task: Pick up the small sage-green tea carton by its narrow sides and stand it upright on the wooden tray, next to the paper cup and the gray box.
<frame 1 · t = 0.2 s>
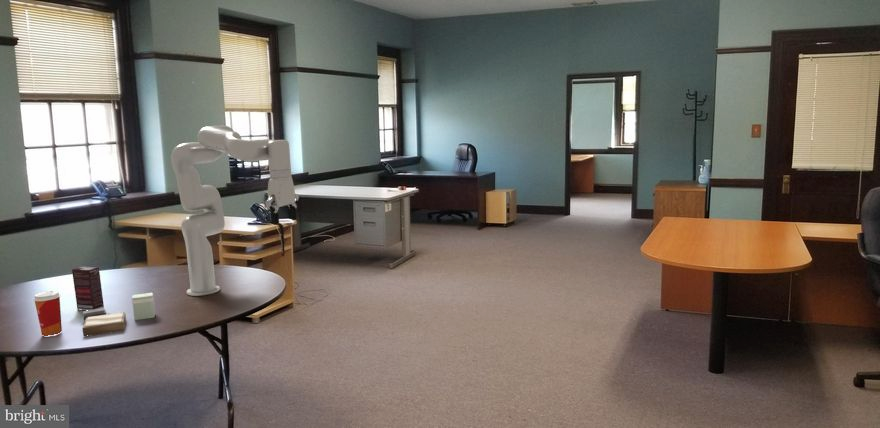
hand: (284, 221, 231), 31 cm above the table, tool pointing down, fingers open, 9 cm apart
gray box: (95, 321, 223), on the table
wooden tray: (105, 328, 215), on the table
supplement box: (90, 309, 238), on the table
paper cup: (52, 335, 211), on the table
carton: (144, 317, 226), on the table
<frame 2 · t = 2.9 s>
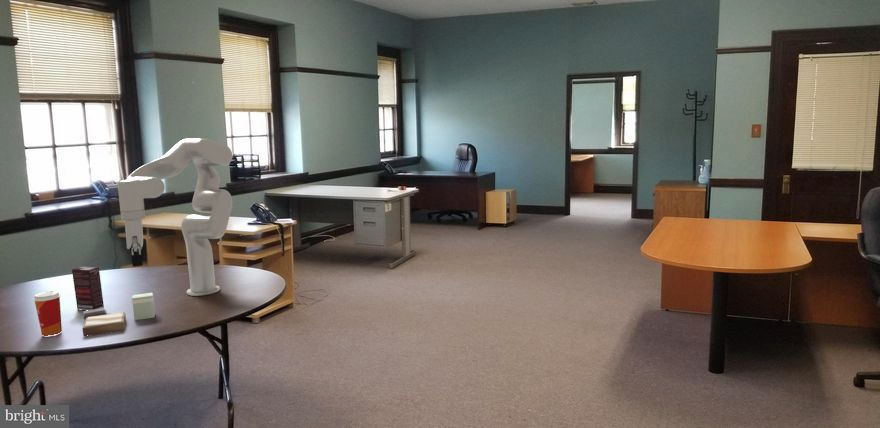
hand: (138, 263, 223), 20 cm above the table, tool pointing down, fingers open, 9 cm apart
nothing on the table moved.
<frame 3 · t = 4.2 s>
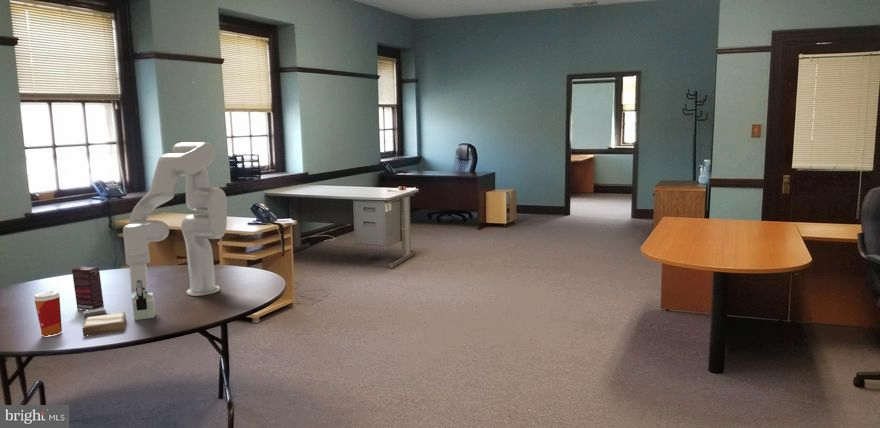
hand: (142, 306, 225), 4 cm above the table, tool pointing down, fingers open, 9 cm apart
nothing on the table moved.
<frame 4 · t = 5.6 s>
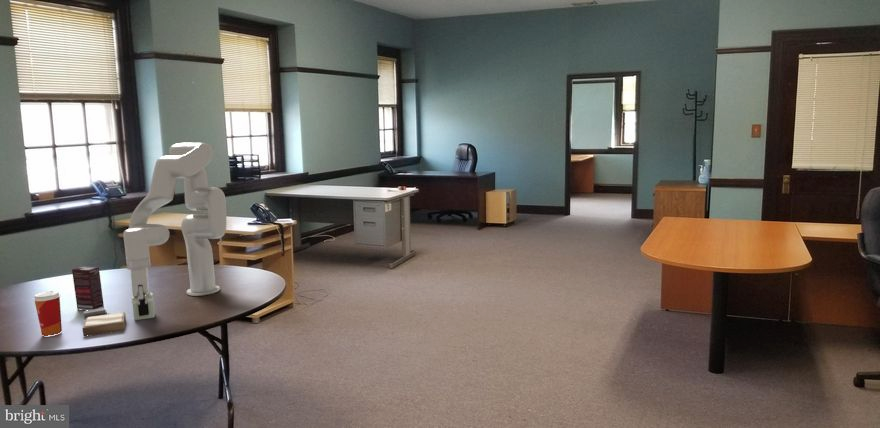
hand: (144, 312, 226), 2 cm above the table, tool pointing down, fingers closed on carton, 4 cm apart
carton: (144, 316, 226), on the table, touching gripper
everything else where it was.
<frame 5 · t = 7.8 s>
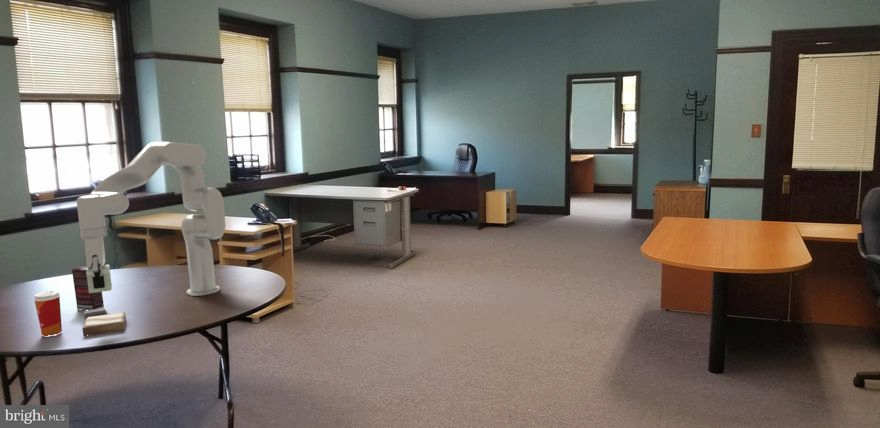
hand: (100, 285, 213), 15 cm above the table, tool pointing down, fingers closed on carton, 4 cm apart
carton: (100, 290, 213), point 13 cm above the table, touching gripper
everything else where it was.
when the fingers open (6 cm above the table, at t = 10.1 s): carton stays where it is, resting on wooden tray.
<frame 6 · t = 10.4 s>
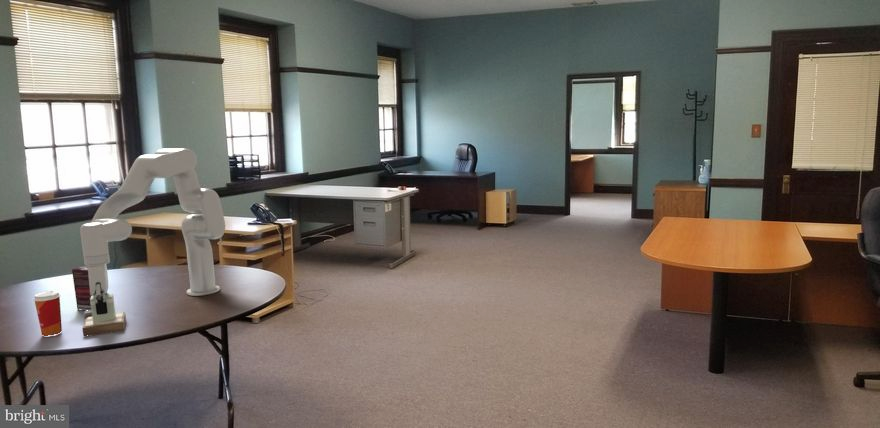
hand: (103, 310, 214), 6 cm above the table, tool pointing down, fingers open, 7 cm apart
carton: (104, 319, 214), point 3 cm above the table, touching wooden tray
everything else where it was.
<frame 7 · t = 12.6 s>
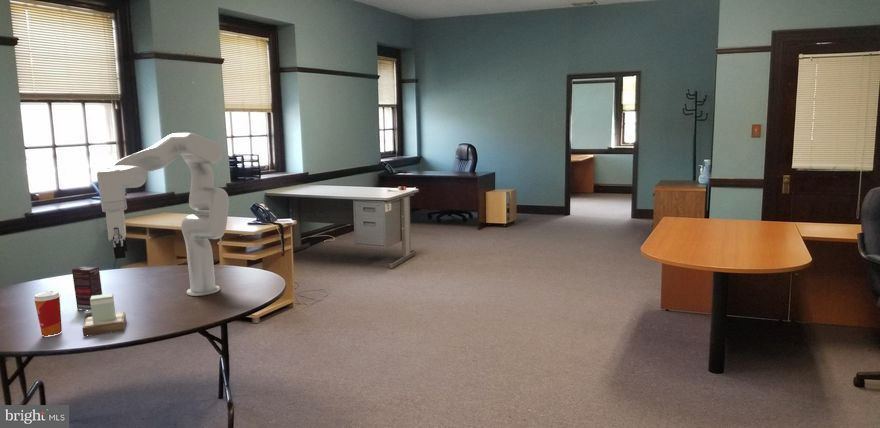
hand: (121, 254, 217), 24 cm above the table, tool pointing down, fingers open, 9 cm apart
nothing on the table moved.
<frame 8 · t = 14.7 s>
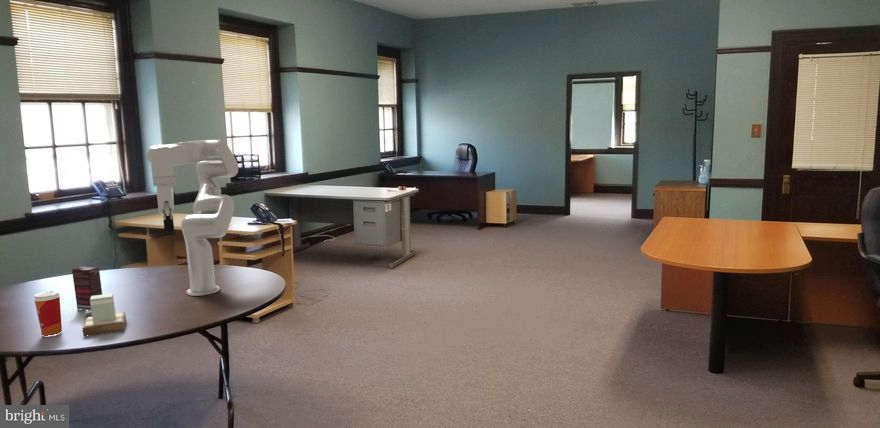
hand: (169, 228, 229), 30 cm above the table, tool pointing down, fingers open, 9 cm apart
nothing on the table moved.
at the end: carton 0.0 cm from the wooden tray (horizontally); carton point 3.2 cm above the table; carton tilted 0° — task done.
